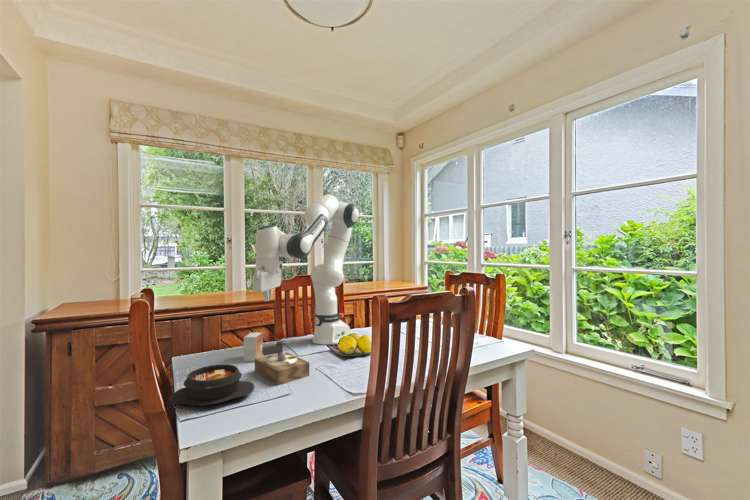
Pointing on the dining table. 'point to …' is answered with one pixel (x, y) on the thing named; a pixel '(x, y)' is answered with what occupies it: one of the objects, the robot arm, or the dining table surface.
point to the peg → (276, 350)
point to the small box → (253, 346)
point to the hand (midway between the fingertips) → (267, 300)
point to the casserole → (212, 386)
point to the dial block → (281, 368)
